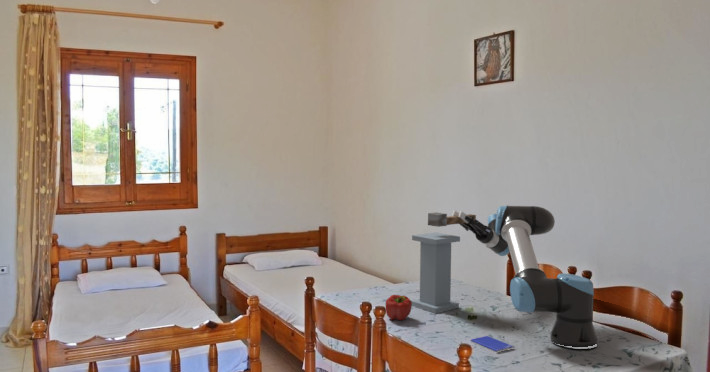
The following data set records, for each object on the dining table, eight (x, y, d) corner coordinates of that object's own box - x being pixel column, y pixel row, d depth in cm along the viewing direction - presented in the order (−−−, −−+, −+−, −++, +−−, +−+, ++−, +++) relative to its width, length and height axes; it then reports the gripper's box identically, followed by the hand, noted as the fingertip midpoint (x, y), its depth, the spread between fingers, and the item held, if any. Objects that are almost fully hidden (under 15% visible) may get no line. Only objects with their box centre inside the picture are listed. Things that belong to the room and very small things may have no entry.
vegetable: (417, 321, 220) (417, 296, 220) (392, 324, 217) (393, 298, 216) (404, 314, 231) (404, 289, 230) (380, 316, 227) (381, 291, 226)
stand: (434, 313, 232) (436, 239, 230) (411, 305, 243) (412, 235, 241) (458, 307, 240) (460, 236, 238) (434, 300, 251) (435, 232, 249)
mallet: (438, 226, 236) (438, 214, 236) (427, 225, 241) (428, 213, 240) (478, 222, 251) (478, 210, 251) (467, 220, 256) (468, 209, 256)
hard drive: (514, 346, 191) (488, 335, 202) (496, 350, 187) (470, 339, 198) (514, 350, 191) (487, 339, 202) (496, 355, 187) (470, 343, 198)
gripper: (498, 246, 253) (467, 223, 239) (470, 241, 265) (439, 219, 252) (504, 230, 254) (474, 207, 241) (475, 226, 267) (446, 204, 254)
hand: (456, 213), depth 247 cm, fingers closed on mallet, 3 cm apart
